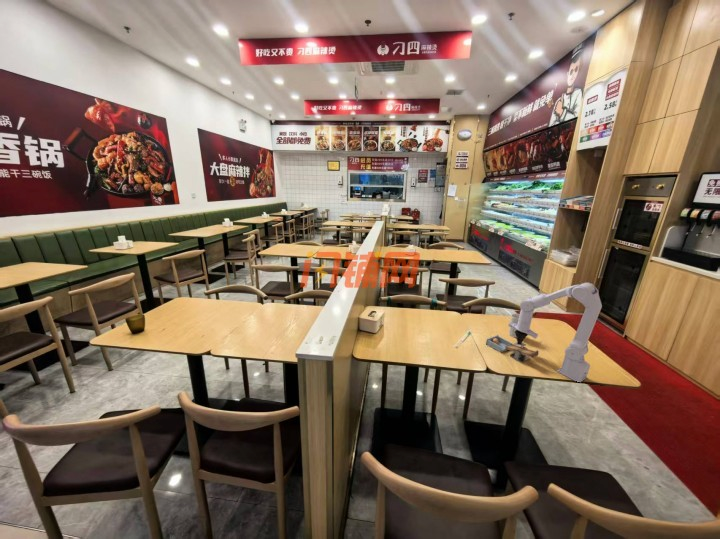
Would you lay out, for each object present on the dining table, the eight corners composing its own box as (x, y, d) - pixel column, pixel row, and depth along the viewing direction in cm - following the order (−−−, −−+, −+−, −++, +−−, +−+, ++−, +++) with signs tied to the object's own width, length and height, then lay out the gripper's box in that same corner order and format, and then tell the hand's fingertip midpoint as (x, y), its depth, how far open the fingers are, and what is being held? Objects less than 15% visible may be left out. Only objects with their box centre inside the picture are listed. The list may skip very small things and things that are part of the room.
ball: (500, 342, 154) (498, 337, 155) (496, 344, 152) (494, 338, 153) (495, 343, 156) (493, 338, 157) (492, 344, 155) (490, 339, 156)
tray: (511, 348, 152) (512, 342, 151) (501, 352, 147) (502, 347, 146) (496, 340, 159) (497, 334, 158) (485, 344, 155) (486, 338, 154)
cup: (524, 339, 161) (528, 320, 158) (509, 337, 163) (513, 318, 159) (519, 332, 169) (523, 314, 165) (505, 330, 170) (509, 312, 167)
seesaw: (546, 351, 141) (546, 346, 141) (532, 358, 135) (532, 353, 135) (518, 342, 153) (518, 338, 153) (505, 348, 147) (505, 344, 147)
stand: (529, 358, 143) (531, 350, 141) (521, 362, 139) (523, 354, 138) (518, 352, 148) (520, 344, 146) (510, 356, 144) (511, 348, 143)
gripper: (543, 325, 142) (537, 348, 146) (515, 313, 154) (511, 335, 158) (535, 328, 139) (529, 352, 143) (508, 316, 151) (503, 338, 155)
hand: (519, 343), depth 150 cm, fingers closed
